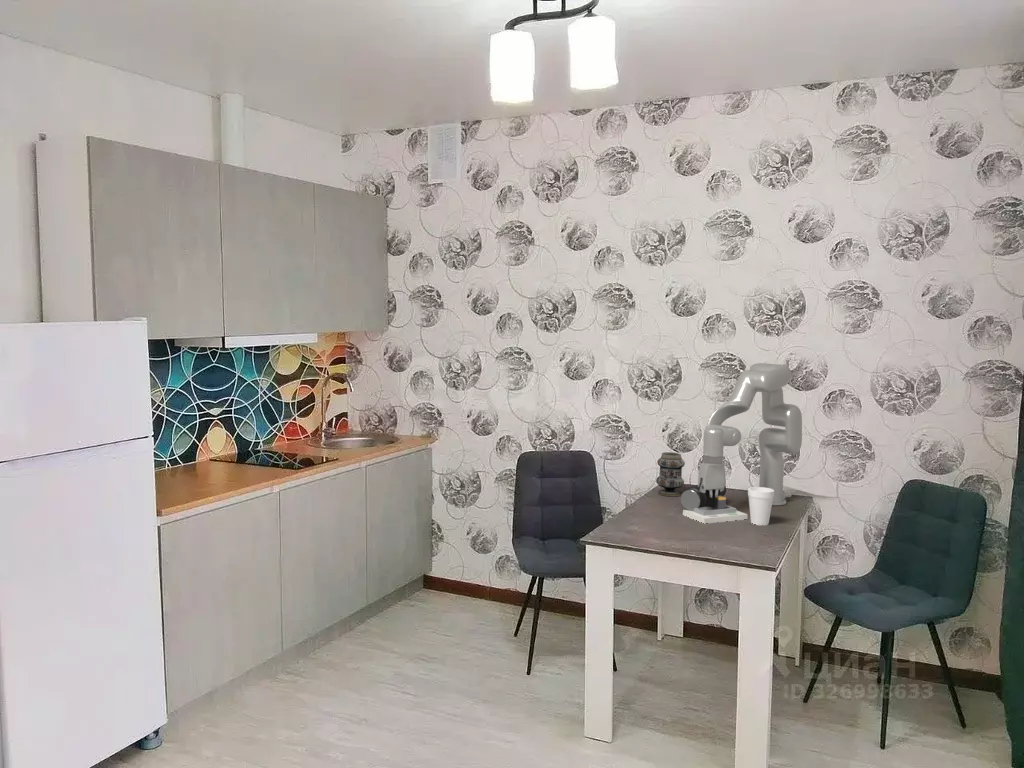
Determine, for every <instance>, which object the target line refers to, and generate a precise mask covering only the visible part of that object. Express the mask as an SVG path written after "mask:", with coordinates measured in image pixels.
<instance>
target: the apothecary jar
mask: <svg viewBox="0 0 1024 768" xmlns="http://www.w3.org/2000/svg"><path fill="white" fill-rule="evenodd" d="M657 465H658V466H659V472H658V473H659V475H658V476H657V478H656V481H655V482H656V484H657V485H658V486H659V487H661V488H664V489H663V490H661V491H658V495H661V496H664V497H679V496H680V497H681V495H682V493H681V492H680V491H678V490H676V489H680V488H681V487H683V486H684V485H685V479H684V478H682V474H683V473H682V471H683V467H684V466H685V465H686V463H685V461H684V459H683V458H682V454H681V453H678V452H672V451H671V452H670V451H669V452H668V451H666V452H662V453H661V456H660V457H659V458H658V459H657Z"/></svg>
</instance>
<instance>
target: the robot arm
mask: <svg viewBox="0 0 1024 768" xmlns="http://www.w3.org/2000/svg"><path fill="white" fill-rule="evenodd" d="M792 376H793V375H792V370H791V368H790V367H789V366H788V365H787V364H781V363H780V364H778V363H777V364H776V363H766V362H765V363H764V362H763V363H761V362H760V363H753V364H752V365H751V366H750V368H749V369H746V370H744V371H742V372H741V373H740V374H739V376H738V378H737V381H736V382H735V385H734V387H733V390H732V393H731V395H730V397H729V399H728V401H726V402H724V403H723V404H722V405H720V406H719V407H718V408H717V409H715V410H714V411H713V412H712V413H711V415H710V416H709V419H708V421H707V423H706V426H705V429H704V431H703V447H702V449H703V451H702V462H701V463H700V466H699V470H698V477H697V485H698V487H699V488H700V492H702V493H705V494H706V496H707V506H706V507H711V508H713V507H716V497H717V496H718V494H719V492H721V491H724V487H725V486H726V466H725V463H724V461H725V460H726V457H725V456H724V447H735V446H736V445H739V443H740V442H741V440H742V432H741V431H740V430H739V429H738V428H736V427H734V426H727V425H722V424H723V423H724V422H725V421H726V420H728V419H729V418H731V417H735V416H736V415H740V414H743V413H746V412H747V411H749V409H750V407H751V406H752V403H753V401H754V398H755V396H756V394H757V393H758V392H759V393H761V415H762V420H763V423H765V424H766V425H769V426H776V427H766V428H763V429H761V431H760V432H759V433H758V434H759V435H758V445H759V453H760V455H759V456H760V460H759V462H760V465H759V480H758V481H759V482H758V483H759V485H758V487H765V488H770V489H773V490H774V497H773V502H772V506H784V505H786V504H787V500H786V498H791V497H792V492H785V491H784V472H785V460H784V457H783V455H782V453H785V454H791V455H792V454H797V453H799V451H800V450H801V448H802V445H803V416H802V415H803V414H802V411H801V409H800V408H799V406H797V405H795V404H792V403H785V401H784V390H783V387H785V386H787V385H788V384H789V382H790V381H791V380H792ZM777 427H784V428H785V429H783V428H777Z"/></svg>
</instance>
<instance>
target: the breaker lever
mask: <svg viewBox="0 0 1024 768" xmlns="http://www.w3.org/2000/svg"><path fill="white" fill-rule="evenodd" d="M726 502H727V497H725V496H717V497H716V507H714V510H717V509H726V505H727V503H726Z"/></svg>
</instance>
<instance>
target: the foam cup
mask: <svg viewBox="0 0 1024 768" xmlns="http://www.w3.org/2000/svg"><path fill="white" fill-rule="evenodd" d="M747 496H748V506H749V514H750V517H749V518H750V523H751V524H752V523H753V524H752V525H754V524H756V525H755V526H762V525H763V526H769V523H770V518H771V512H772V508H773V505H772V502H773V497H774V490H773V489H770V488H765V487H759V486H752V487H748V488H747Z"/></svg>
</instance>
